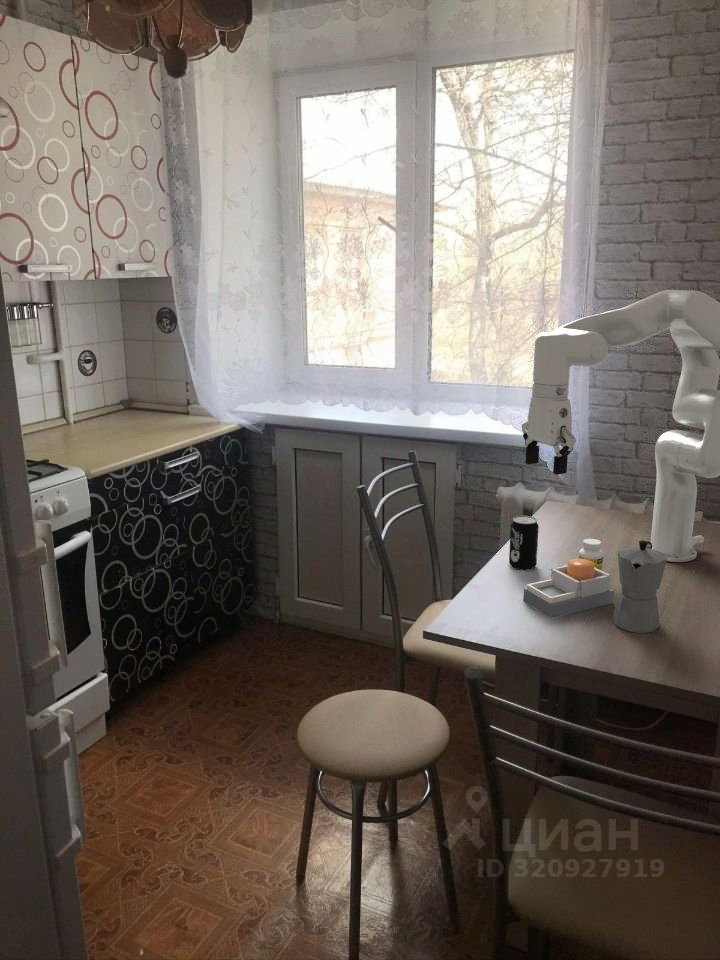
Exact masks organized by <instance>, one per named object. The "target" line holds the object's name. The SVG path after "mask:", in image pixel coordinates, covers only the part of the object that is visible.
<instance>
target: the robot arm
mask: <svg viewBox="0 0 720 960" xmlns="http://www.w3.org/2000/svg"><path fill="white" fill-rule="evenodd" d="M668 330H669V332H670V336H671V338H672V339H671V340H672V341H673V342H674V343H675V344H676V346H677V349H678V350H679V353H680V356H681V361H682V364H681V365H682V367H681V373H680V377H679V380H678V384H677V387H676V388H677V389H676V391H675V397H674V401H673V403H672V410H671V414H672V417H673V420H675V422H677V423H679V424H681V425H685V426H687V427H692V428H697V429H701V430H704V432H703V434H700V433H695V432H691V431H687V430H680V429H671V430H667V431H665V432H664V433H662V434H660V436H659V437H658V438H657V441H656V443H655V448H654V458H655V465H656V468H655V469H656V480H655V482H656V484H655V492H654V502H653V504H654V505H653V512H652V523H651V531H650V534H651V535H650V542H651V543H652V550H656V551H659V552H662V553H663V554H664V555H665V557H666V558H667V561H666V562H671V563H687V562H690V561H693V560H695V559H696V558H697V555H698V552H697V550H696V549H695V548H694V546H696V544H701V543H704V542H705V537H704V536H703V535H702V534H700V535H695V536H693V530H694V522H695V514H696V504H697V503H696V502H697V495H698V484H697V483H698V482H697V479H696V476H697V477H702V478H707V479H714V478H717V477H719V476H720V390H719V389H718V384H719V380H720V357H719V355H718V353H717V352H718V351H719V352H720V302H719V301H718V300H716V299H715V298H713V297H712V296H710V295H709V294H707V293H704V292H702V291H699V290H681V289H680V290H679V289H665V290H661V291H658V292H656V293H653V294H651V295H649V296H647V297H645V298H642V299H640V300H638V301H636V302H633V303H631V304H629V305H627V306H624V307H622V308H618V309H617V308H616V309H613V310H608V311H605V312H601V313H598V314H594V315H590V316H589V315H588V316H585V317H582V318H579V319H576V320H574V321H571V322H569V323H567V324H564V325H562V326H560V327H558V328H556V329H554V330H553V331H552V332H551V331H550V332H541V333H539V334H538V335H536V337H535V340H534V341H535V342H534V353H533V354H534V355H533V356H534V357H533V373H532V374H533V376H532V390H531V391H532V394H531V398H530V402H529V408H528V415H527V421H525V422H524V423H522V424H521V429H522V430H521V431H522V433H523V434H522V438H523V439H524V446H525V448H526V449H525V464H526V465H533V464H538V463H539V462H540V461H539V460H540V458H539V457H540V445H538V444H539V443H540V444H543V445H546V446H549V447H552V448H553V450H554V452H555V456H553V457H554V458H553V470H552V473H553V475H556V476H557V475H563V474H566V473H567V471H568V460H569V459H568V458H569V457H570V455H571V453H572V452H573V450H574V447H575V444H576V442H577V438H576V437H575V436H574V435H573V434H572V433H573V432H572V431H573V430H572V425H573V423H572V421H573V419H572V406H571V399H569V386H570V373H571V371H570V370H571V367H572V366H574V367H585V368H592V367H595V366H598V365H600V364H601V363H603V361H605V359H606V358H607V356H608V354H609V348H610V347H624V346H626V347H627V346H630V345H637V344H639V343H641V342H643V341H645V340H647V339H649V338H652V337H654V336H656V335H659V334H660V333H663V332H665V331H668ZM560 447H561V448H560Z"/></svg>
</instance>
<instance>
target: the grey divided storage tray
mask: <svg viewBox="0 0 720 960" xmlns="http://www.w3.org/2000/svg"><path fill="white" fill-rule="evenodd" d="M567 569H568V564H565V565H561V566H556V567H554V568H551V575H550V576H551V577H550V578H549V579H546V580H541V581H537V582H532V583H527V584H526V587H524V588H523V598H522V600H523V602H525V603H526V604H527V605H529V606H530V607H533V608H534V609H535V610H537V611H539V612H541V613H542V614H544V615H545V616H547V617H548V618H550V619H554V618H558V617H563V616H567V615H571V614H575V613H579V612H582V611H587V610H591V609H594V608H599V607H603V606H607V605H611V604H613V603H614V594H615V592H614V590H615V589H612V588H611V587H610V583H611V581H610V580H611V574H609V573H607V572H605V571H603V570H602V571H601V570H599V569H597V568H594V578H591V579H586V580H582V581H580V582H579V581H577V580H576V579H574V578H572V577H570V576H568V575H567ZM579 588H580V590H579Z"/></svg>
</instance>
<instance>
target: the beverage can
mask: <svg viewBox="0 0 720 960" xmlns="http://www.w3.org/2000/svg"><path fill="white" fill-rule="evenodd" d="M539 529H540V528H539V524H538V518H536V517H533V516H529V515H517V516H514V517H513V518H512V521H511V523H510V535H509V555H508V557H509V559H508V563H509V565H511V566H510V567H512V568H513V569H515V570H519V571H528V570H533V569H534V568H535V567H536V565H537V564H538V563H537V561H538V543H539Z"/></svg>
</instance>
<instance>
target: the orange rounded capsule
mask: <svg viewBox="0 0 720 960" xmlns="http://www.w3.org/2000/svg"><path fill="white" fill-rule="evenodd" d="M567 565H568V569H567V575H568V576H570V577H572V578H574V579H576V580H577V581H579V582H580V581H582V580H586V579H591V578H594V568H595V564H594V563H593V562H592V561H590V560H586V559H579V558H571V559H569V560H568V561H567ZM579 590H580V588H579Z"/></svg>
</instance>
